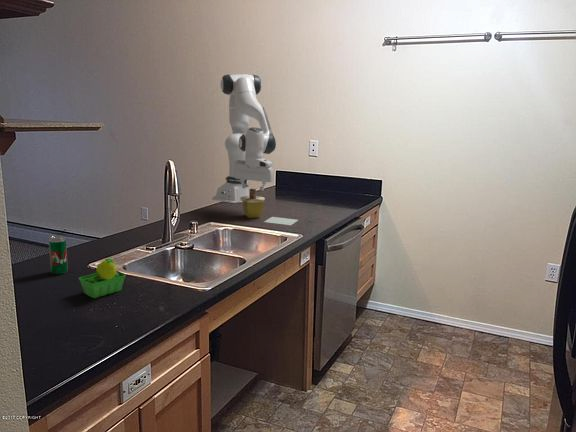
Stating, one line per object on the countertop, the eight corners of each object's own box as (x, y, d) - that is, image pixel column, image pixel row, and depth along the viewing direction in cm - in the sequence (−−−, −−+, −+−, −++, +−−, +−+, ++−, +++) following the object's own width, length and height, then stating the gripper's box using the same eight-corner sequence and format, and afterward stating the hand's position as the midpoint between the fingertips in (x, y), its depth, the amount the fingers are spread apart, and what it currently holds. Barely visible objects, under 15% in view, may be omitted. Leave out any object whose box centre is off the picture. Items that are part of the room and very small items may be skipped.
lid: (236, 201, 239) (236, 190, 238) (246, 196, 250) (246, 186, 249) (259, 203, 236) (259, 192, 234) (268, 199, 247) (268, 188, 245)
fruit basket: (113, 283, 152) (112, 249, 149) (129, 291, 146) (128, 255, 144) (78, 293, 143) (76, 257, 141) (94, 302, 138) (92, 264, 135)
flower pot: (263, 219, 243) (264, 201, 241) (246, 220, 240) (247, 202, 237) (258, 215, 251) (258, 198, 249) (241, 216, 247) (242, 198, 245)
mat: (263, 222, 235) (263, 221, 235) (272, 217, 246) (272, 216, 246) (291, 226, 231) (291, 225, 231) (298, 220, 242) (298, 219, 242)
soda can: (63, 268, 163) (61, 234, 160) (71, 272, 160) (68, 237, 157) (48, 272, 159) (45, 237, 156) (55, 276, 156) (53, 240, 153)
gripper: (232, 160, 239) (231, 187, 242) (270, 164, 233) (269, 192, 236) (237, 158, 245) (236, 186, 248) (275, 162, 239) (274, 190, 242)
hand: (252, 189), depth 242 cm, fingers open, 8 cm apart
